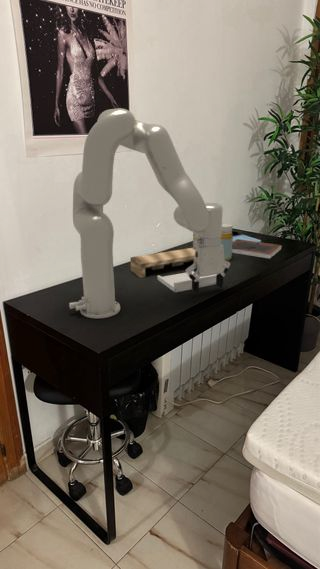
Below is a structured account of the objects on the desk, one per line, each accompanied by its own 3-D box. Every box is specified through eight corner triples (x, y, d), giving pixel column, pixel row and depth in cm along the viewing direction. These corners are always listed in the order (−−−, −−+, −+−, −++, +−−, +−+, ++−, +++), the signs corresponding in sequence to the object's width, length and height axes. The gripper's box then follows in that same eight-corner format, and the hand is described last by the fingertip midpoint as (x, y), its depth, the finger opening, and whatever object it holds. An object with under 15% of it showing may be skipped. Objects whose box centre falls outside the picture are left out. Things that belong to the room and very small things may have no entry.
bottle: (229, 262, 173) (231, 227, 168) (213, 260, 175) (215, 226, 170) (232, 257, 179) (234, 223, 174) (216, 256, 182) (218, 222, 176)
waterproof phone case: (261, 243, 203) (262, 240, 202) (244, 247, 197) (244, 244, 196) (242, 237, 213) (242, 234, 213) (225, 240, 207) (225, 238, 207)
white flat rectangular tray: (175, 292, 143) (175, 283, 142) (157, 279, 155) (157, 270, 154) (222, 282, 152) (223, 274, 150) (202, 271, 163) (202, 263, 162)
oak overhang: (140, 277, 157) (140, 264, 155) (130, 270, 165) (130, 257, 163) (207, 266, 169) (207, 253, 167) (195, 259, 177) (195, 247, 175)
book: (223, 252, 189) (269, 259, 178) (223, 246, 188) (270, 254, 177) (237, 243, 202) (280, 250, 191) (237, 238, 201) (281, 244, 190)
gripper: (192, 247, 130) (191, 297, 136) (237, 240, 137) (234, 288, 143) (181, 241, 136) (180, 289, 142) (224, 235, 143) (222, 281, 149)
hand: (207, 288), depth 143 cm, fingers open, 9 cm apart
